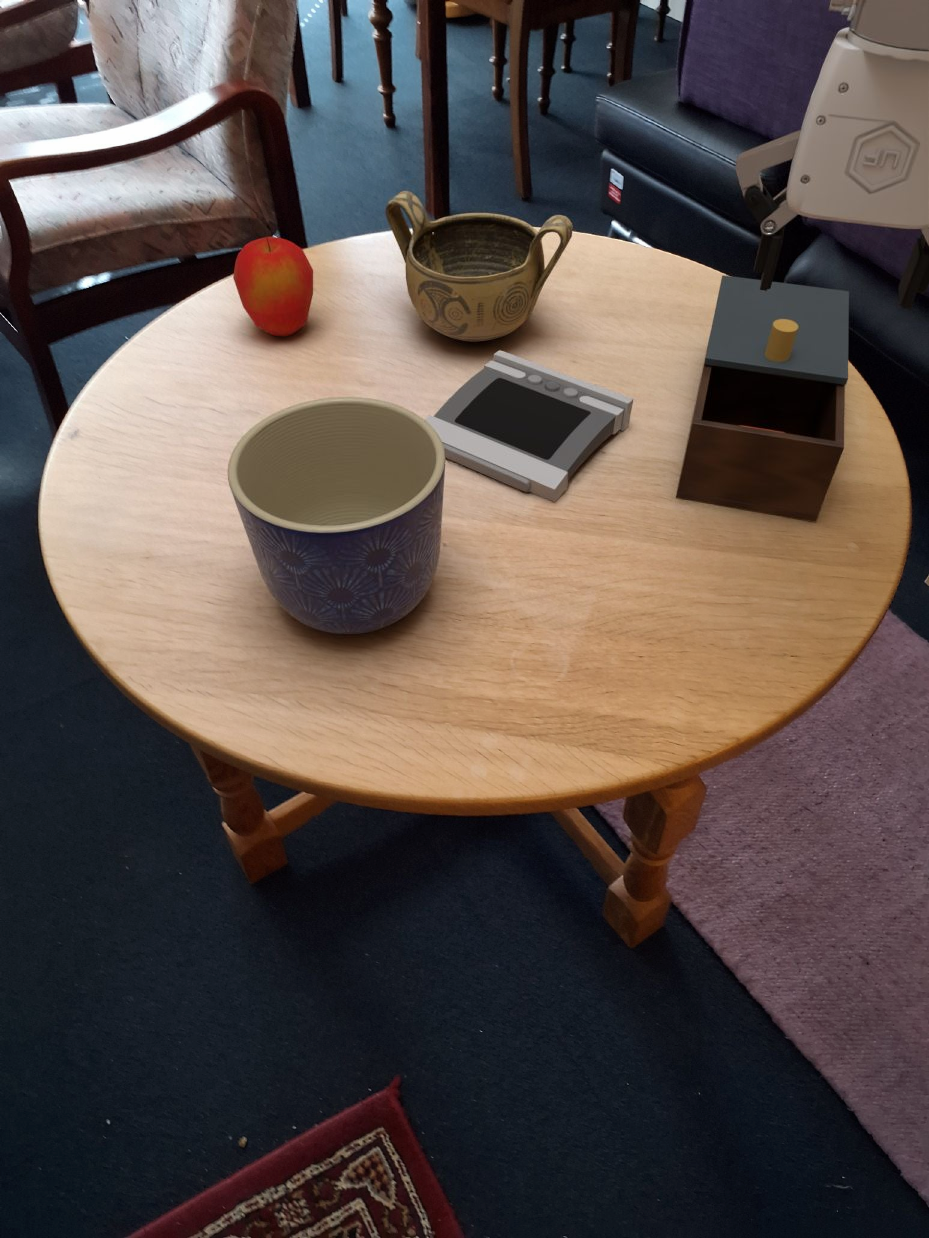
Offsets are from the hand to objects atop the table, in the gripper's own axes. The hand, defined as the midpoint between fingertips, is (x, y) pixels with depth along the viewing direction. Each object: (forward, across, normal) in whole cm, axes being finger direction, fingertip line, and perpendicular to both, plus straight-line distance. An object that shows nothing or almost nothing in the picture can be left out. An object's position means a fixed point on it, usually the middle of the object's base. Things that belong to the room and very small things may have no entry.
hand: (833, 290), depth 65 cm
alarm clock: (+26, -25, +12) cm, 38 cm away
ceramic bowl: (+26, -36, +32) cm, 55 cm away
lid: (+17, -1, +25) cm, 30 cm away
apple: (+26, -59, +25) cm, 69 cm away
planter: (+26, -34, -15) cm, 46 cm away
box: (+26, -1, +15) cm, 30 cm away
